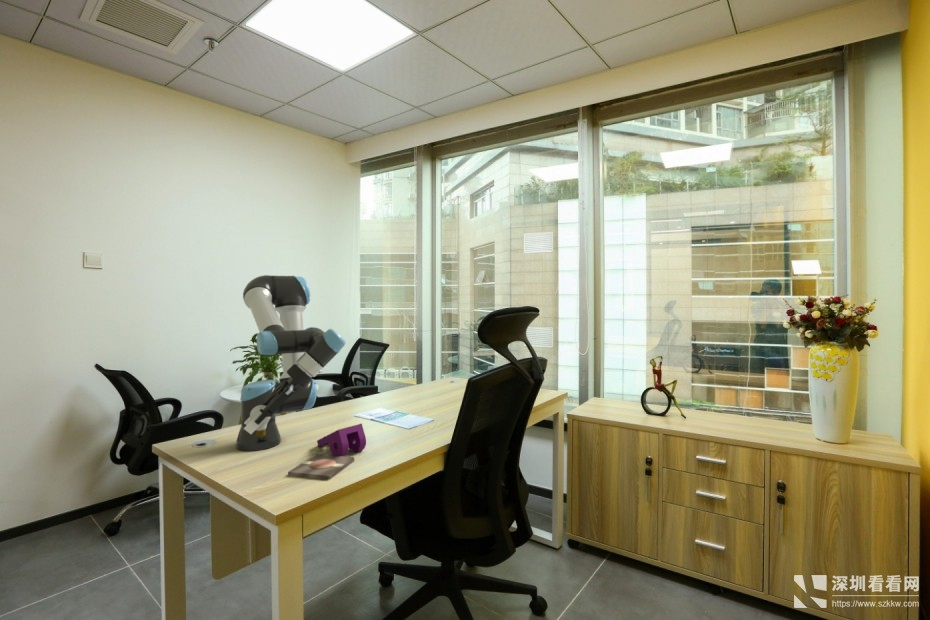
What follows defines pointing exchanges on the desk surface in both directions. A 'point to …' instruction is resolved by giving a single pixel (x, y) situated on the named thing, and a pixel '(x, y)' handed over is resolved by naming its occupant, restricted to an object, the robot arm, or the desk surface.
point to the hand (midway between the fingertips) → (247, 428)
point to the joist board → (321, 466)
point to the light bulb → (262, 428)
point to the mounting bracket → (345, 440)
